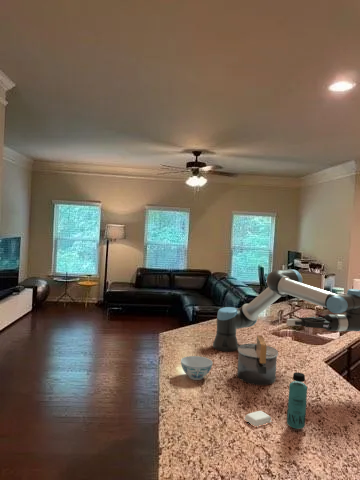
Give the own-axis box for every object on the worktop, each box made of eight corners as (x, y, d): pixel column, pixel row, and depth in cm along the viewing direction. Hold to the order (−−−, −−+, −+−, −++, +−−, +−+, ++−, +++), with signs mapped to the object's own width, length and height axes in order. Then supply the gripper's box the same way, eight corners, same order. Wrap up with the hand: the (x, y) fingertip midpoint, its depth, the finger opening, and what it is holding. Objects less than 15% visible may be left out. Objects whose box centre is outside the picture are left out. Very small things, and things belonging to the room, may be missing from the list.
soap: (260, 415, 147) (260, 408, 147) (273, 423, 141) (273, 416, 141) (242, 420, 142) (242, 413, 142) (254, 429, 136) (255, 421, 136)
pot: (235, 366, 198) (236, 343, 198) (271, 368, 197) (272, 345, 196) (240, 392, 166) (241, 365, 166) (282, 395, 165) (284, 368, 164)
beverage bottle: (283, 423, 141) (286, 370, 140) (301, 423, 141) (304, 370, 140) (290, 433, 134) (293, 377, 133) (308, 433, 135) (311, 377, 134)
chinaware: (215, 374, 185) (215, 358, 185) (207, 386, 171) (207, 369, 171) (185, 369, 190) (186, 354, 190) (175, 380, 176) (176, 363, 176)
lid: (236, 344, 194) (237, 326, 194) (274, 347, 193) (275, 329, 192) (240, 364, 166) (241, 343, 166) (285, 367, 164) (286, 346, 164)
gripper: (342, 334, 171) (293, 334, 167) (326, 326, 184) (280, 326, 180) (343, 318, 171) (294, 317, 167) (327, 311, 184) (281, 310, 180)
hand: (287, 322), depth 174 cm, fingers closed
